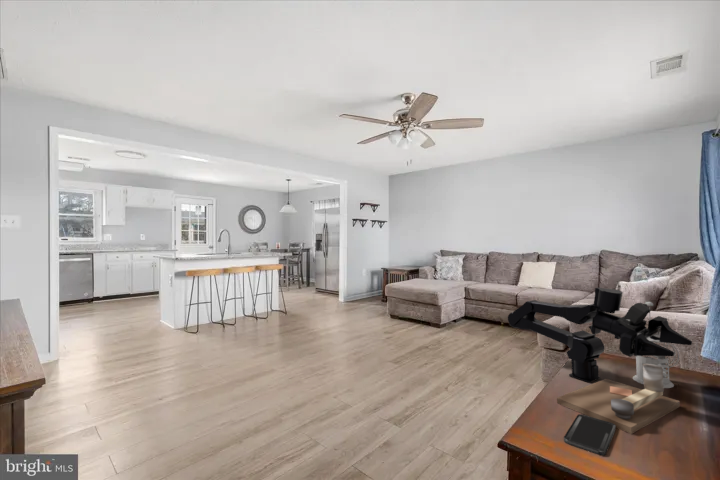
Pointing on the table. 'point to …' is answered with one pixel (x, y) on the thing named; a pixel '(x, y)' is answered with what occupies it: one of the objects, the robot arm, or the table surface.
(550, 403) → the table surface
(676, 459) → the table surface
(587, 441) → the phone
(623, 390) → the board
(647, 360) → the french press
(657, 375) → the grey-ended beige bar
